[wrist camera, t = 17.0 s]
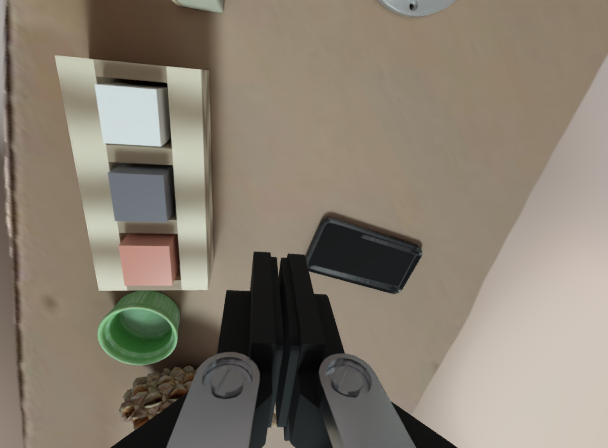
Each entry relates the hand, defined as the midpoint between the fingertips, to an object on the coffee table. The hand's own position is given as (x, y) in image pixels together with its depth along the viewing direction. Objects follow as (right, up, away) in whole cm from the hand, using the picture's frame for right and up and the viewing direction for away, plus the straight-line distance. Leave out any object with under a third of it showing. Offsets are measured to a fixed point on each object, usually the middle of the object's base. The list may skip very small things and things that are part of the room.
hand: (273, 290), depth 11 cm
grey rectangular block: (-14, +7, +23) cm, 28 cm away
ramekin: (-19, -10, +33) cm, 39 cm away
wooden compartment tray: (-15, +8, +26) cm, 30 cm away
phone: (+9, -2, +34) cm, 35 cm away
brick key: (-15, 0, +26) cm, 30 cm away
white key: (-14, +13, +21) cm, 28 cm away
